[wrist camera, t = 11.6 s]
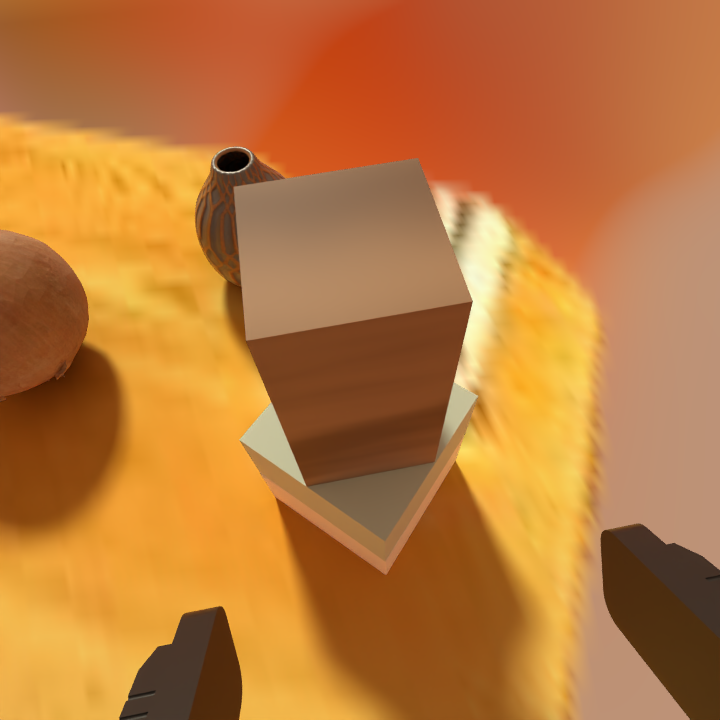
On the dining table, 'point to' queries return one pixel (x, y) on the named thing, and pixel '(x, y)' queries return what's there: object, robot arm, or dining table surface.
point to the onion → (37, 314)
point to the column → (352, 315)
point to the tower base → (346, 539)
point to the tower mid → (360, 479)
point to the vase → (226, 207)
